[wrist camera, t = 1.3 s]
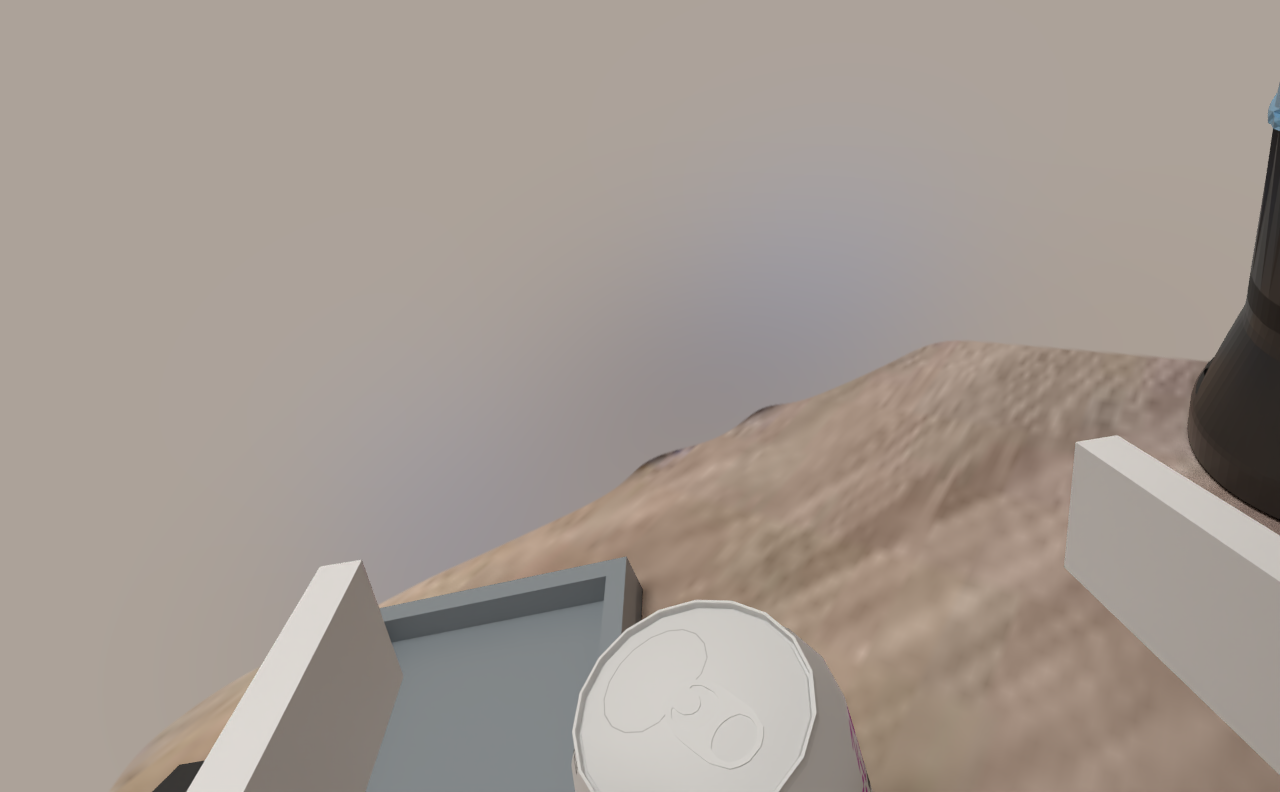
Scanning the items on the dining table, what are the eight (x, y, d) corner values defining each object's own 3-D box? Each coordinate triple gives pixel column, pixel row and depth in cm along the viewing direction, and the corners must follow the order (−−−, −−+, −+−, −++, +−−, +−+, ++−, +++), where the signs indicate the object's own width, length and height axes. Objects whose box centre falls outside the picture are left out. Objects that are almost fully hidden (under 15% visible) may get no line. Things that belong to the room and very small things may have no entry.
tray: (642, 589, 44) (626, 556, 42) (628, 935, 29) (603, 905, 28) (387, 639, 48) (364, 611, 46) (259, 969, 33) (218, 944, 31)
